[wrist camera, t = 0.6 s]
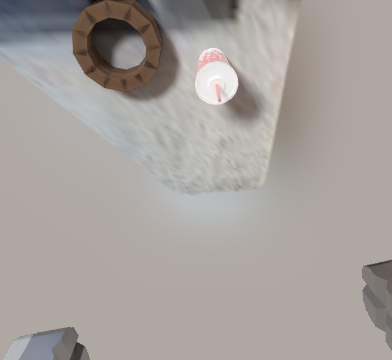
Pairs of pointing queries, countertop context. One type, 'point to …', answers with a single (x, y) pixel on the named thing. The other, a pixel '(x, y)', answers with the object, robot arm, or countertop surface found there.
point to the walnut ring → (95, 66)
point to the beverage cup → (215, 77)
